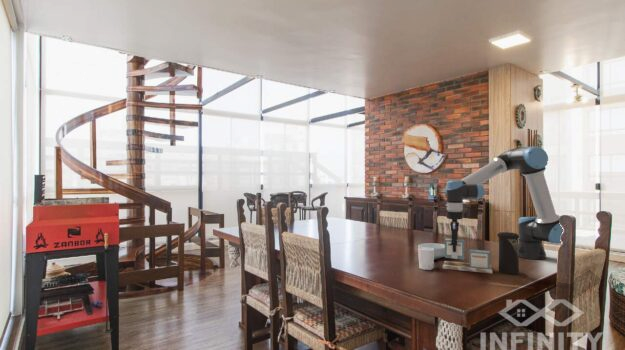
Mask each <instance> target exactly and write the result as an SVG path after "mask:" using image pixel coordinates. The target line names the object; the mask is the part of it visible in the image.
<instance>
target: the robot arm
mask: <svg viewBox="0 0 625 350" xmlns="http://www.w3.org/2000/svg"><path fill="white" fill-rule="evenodd" d="M548 162H549V156H548V153H547V151H546V150H544V148H541V147H539V146H525V147H514V148H511V149H509V150H507V151H504V152H502V153H501V154H499V155H497V156H496V157H494V158H493V159H492V161H491V162H489V163H487V164H486V165H484V166H482V167H480V168H478V169H477V170H475V171H474V172H472V173H470V174H469V175H467V176H464V178H461V179H460V180H448V181H446V186H445V189H444V192H445V194H446V204H445V207H446V218H447V219H449V220H451V221H450V223H449V224H450V231H451V232H450V233H451V239H452V243H451V244H450V245H452V258H451V259H454V258H456V260H458V259H457V239H459V237H458V236H459V235H458V234H459V226H460V222H459V221H458V220H463V219H464V218H463V217H464V215H463V213H464V211H463V209H464V203H463V201H464V200H479V199H482V198H483V197H484V196H485V194H486V193H485V190H486V189H485V187H484V186H483V185H482V184H484V183H485V182H488V181H489V180H491V179H492V178H494V177H495V176H497V175H499V174H504V173H506V172H507V171H510V170H519V173H520V175H522V176H524V178H525V181H526V184H527V186H528V187H527V188H528V190H529V193H530V194H529V195H530V197H531V200H532V205H533V207H534V209H535V214H536V216H522V217H519V218H518V223H517V228H518V235H519V238H518V258H522V259H527V260H528V259H530V260H545V259H546V258H547V253H546V250H545V248H544V244H543V242H546V243H550V244H556V245H559V244H560V245H561V244H562V243H561V241H560V236H561V234H562V232H563V229H562V227H561V226H560V224H559V217H560V218H561V216H560V215H559V214H557V213H556V209H555V206H554V204H553V203H554V202H553V200H552V197H551V194H550V189H549V188H548V187H549V186H548V185H547V181H546V177H545V173H544V172H545V171H546V169H547V168H546V166H547V165H548Z"/></svg>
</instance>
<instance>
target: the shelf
mask: <svg viewBox="0 0 625 350" xmlns="http://www.w3.org/2000/svg"><path fill="white" fill-rule="evenodd" d="M442 269H444V270H453V271H464V272H475V273H485V274H493V269H492V265H491V264H490V269H481V268H470V267H469V262H460V261H449V260H444V261H443V264H442Z"/></svg>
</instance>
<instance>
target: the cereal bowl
mask: <svg viewBox="0 0 625 350" xmlns="http://www.w3.org/2000/svg"><path fill="white" fill-rule="evenodd" d="M420 247H429V248H433V249H434V260H440V259H441V258H445V243H444V244H443V243H434V242H429V243H427V242H426V243H425V242H424V243H419V244H418V246H417V249H418V248H420Z"/></svg>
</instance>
